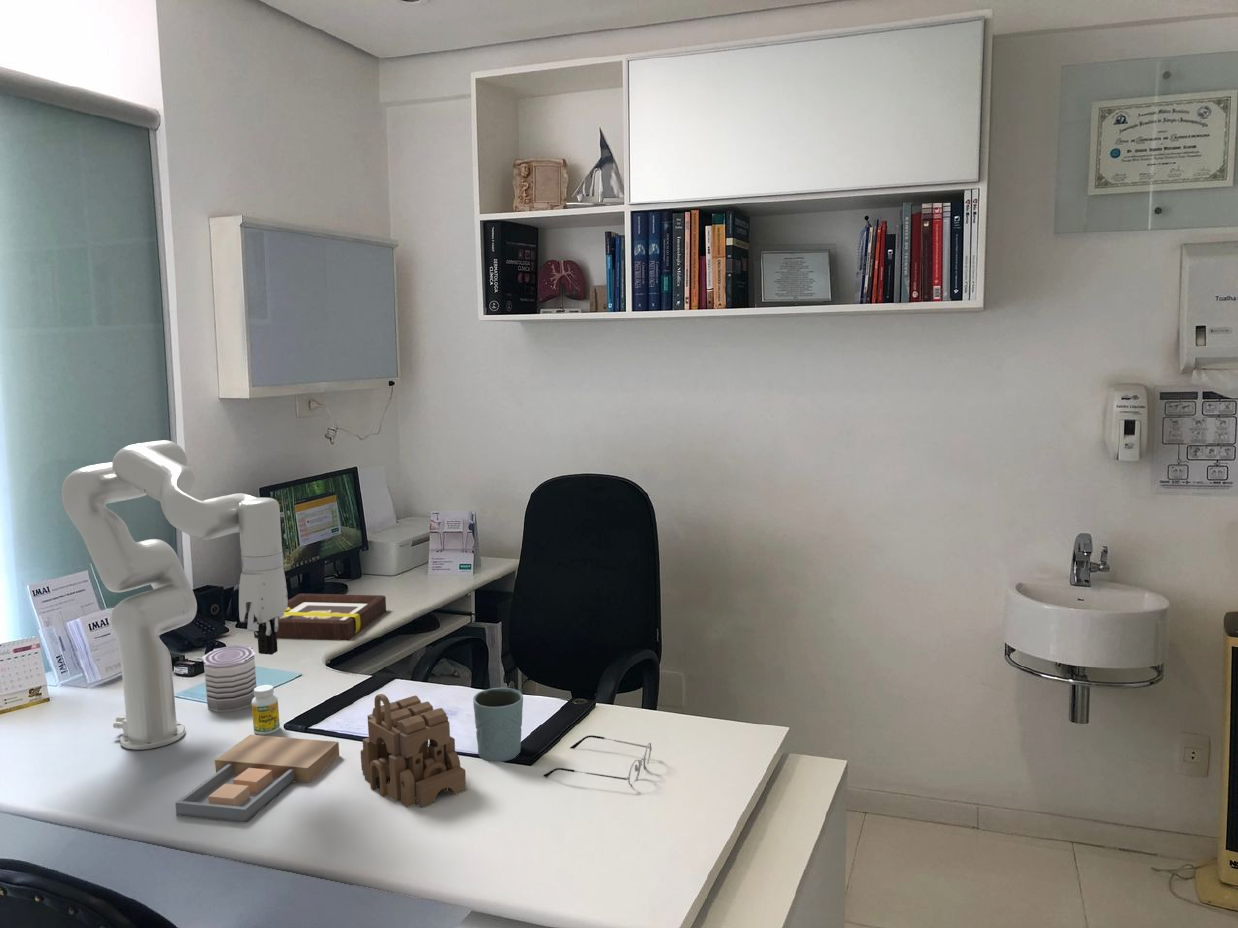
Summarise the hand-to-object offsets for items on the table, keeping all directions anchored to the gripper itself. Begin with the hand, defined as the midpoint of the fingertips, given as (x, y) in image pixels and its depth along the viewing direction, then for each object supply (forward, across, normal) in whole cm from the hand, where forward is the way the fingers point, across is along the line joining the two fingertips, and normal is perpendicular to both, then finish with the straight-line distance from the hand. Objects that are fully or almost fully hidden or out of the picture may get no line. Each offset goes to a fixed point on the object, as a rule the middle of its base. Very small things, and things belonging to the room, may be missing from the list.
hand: (268, 652), depth 193 cm
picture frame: (+24, -87, -40) cm, 99 cm away
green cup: (+23, -13, +43) cm, 50 cm away
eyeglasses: (+23, -11, +64) cm, 69 cm away
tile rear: (+23, +10, +2) cm, 25 cm away
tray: (+23, +14, +1) cm, 27 cm away
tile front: (+20, +17, +1) cm, 26 cm away
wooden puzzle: (+23, +1, +30) cm, 38 cm away
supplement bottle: (+24, -15, -11) cm, 30 cm away
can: (+24, -27, -28) cm, 46 cm away
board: (+23, 0, +1) cm, 23 cm away
